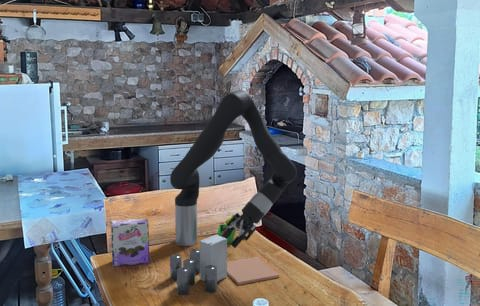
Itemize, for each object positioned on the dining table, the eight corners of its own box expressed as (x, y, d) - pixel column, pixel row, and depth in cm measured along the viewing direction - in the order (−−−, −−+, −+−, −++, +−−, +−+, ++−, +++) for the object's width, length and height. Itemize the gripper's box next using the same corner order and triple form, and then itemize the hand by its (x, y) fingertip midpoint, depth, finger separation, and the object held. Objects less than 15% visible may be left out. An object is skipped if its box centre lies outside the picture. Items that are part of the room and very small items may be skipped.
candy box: (112, 267, 178) (110, 224, 176) (112, 261, 184) (110, 220, 181) (149, 263, 182) (148, 222, 179) (148, 257, 188) (147, 217, 185)
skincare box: (216, 272, 174) (216, 233, 172) (228, 277, 170) (228, 237, 168) (199, 280, 168) (198, 239, 166) (210, 285, 164) (210, 244, 162)
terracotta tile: (219, 265, 181) (219, 263, 181) (257, 259, 187) (257, 256, 187) (238, 285, 164) (238, 282, 164) (279, 277, 171) (279, 274, 171)
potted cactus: (219, 235, 214) (219, 210, 212) (239, 235, 214) (239, 211, 212) (217, 244, 203) (217, 218, 201) (238, 244, 203) (238, 219, 201)
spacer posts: (164, 274, 172) (164, 253, 171) (199, 268, 178) (198, 248, 176) (181, 298, 154) (180, 275, 153) (218, 291, 159) (218, 269, 158)
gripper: (242, 196, 177) (213, 230, 174) (259, 206, 164) (228, 242, 161) (255, 208, 180) (226, 241, 177) (273, 219, 167) (242, 255, 164)
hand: (227, 242), depth 169 cm, fingers open, 8 cm apart
